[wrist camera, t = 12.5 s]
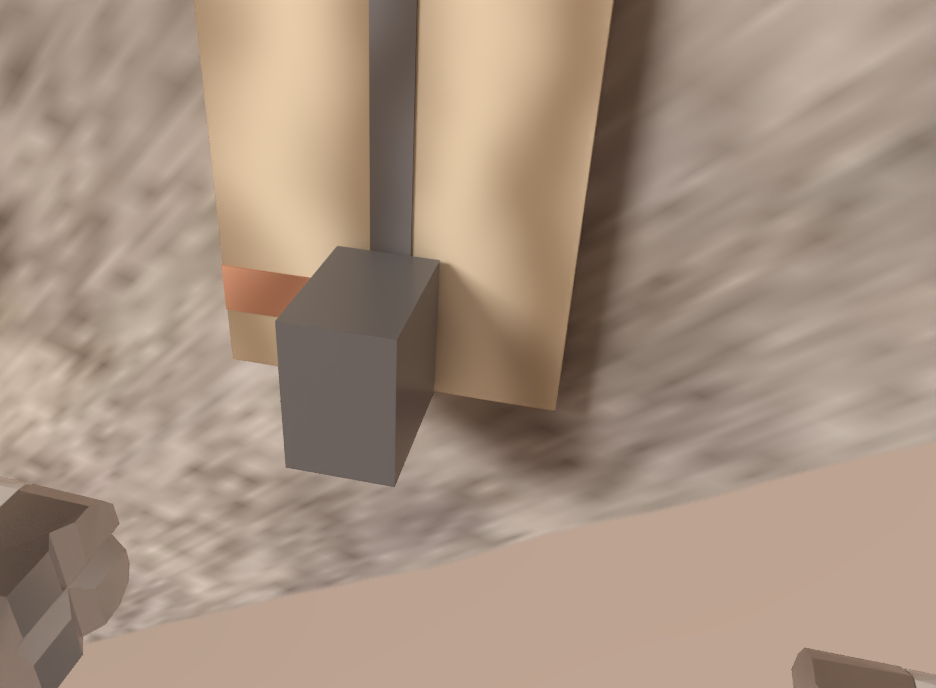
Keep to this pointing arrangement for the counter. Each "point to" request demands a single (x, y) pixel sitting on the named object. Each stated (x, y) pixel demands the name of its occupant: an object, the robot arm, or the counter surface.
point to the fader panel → (410, 164)
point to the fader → (358, 363)
